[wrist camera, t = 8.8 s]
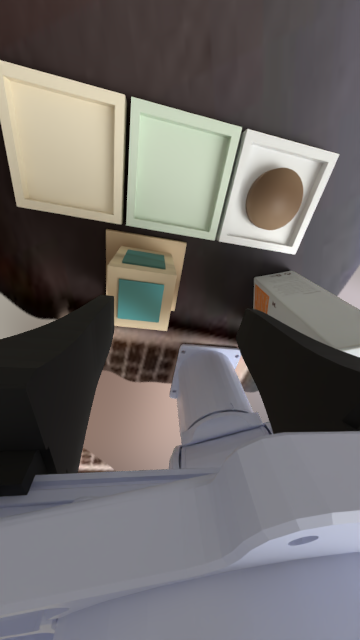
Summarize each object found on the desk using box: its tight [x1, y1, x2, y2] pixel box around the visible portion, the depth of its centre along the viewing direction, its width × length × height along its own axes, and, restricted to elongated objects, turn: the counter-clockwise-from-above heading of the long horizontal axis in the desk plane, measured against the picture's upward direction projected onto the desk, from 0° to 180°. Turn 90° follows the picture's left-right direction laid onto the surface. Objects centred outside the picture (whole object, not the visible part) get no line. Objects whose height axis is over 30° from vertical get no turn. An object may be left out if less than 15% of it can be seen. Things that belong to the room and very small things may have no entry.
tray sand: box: [0, 60, 127, 224], centre depth 15 cm, size 8×8×1 cm
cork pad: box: [106, 229, 187, 311], centre depth 20 cm, size 7×7×1 cm
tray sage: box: [126, 97, 242, 241], centre depth 16 cm, size 8×8×1 cm
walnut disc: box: [246, 168, 303, 230], centre depth 17 cm, size 4×4×1 cm
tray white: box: [216, 129, 339, 254], centre depth 18 cm, size 8×8×1 cm
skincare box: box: [253, 271, 360, 357], centre depth 18 cm, size 6×4×12 cm
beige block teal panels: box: [107, 246, 177, 331], centre depth 17 cm, size 5×4×6 cm
